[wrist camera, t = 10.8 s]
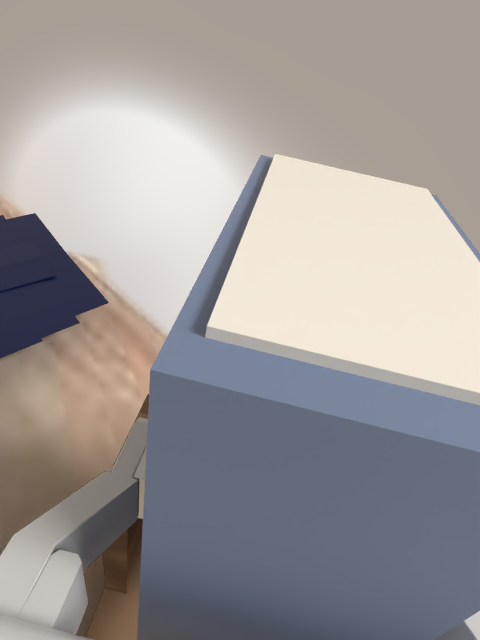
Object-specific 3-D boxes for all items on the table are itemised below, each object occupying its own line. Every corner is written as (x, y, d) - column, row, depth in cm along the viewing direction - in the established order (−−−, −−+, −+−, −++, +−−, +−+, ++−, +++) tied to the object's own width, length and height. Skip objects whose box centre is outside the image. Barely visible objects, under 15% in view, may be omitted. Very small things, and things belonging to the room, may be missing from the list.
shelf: (40, 767, 17) (-16, 729, 10) (140, 505, 27) (147, 393, 20) (283, 835, 17) (396, 844, 10) (296, 546, 26) (358, 448, 20)
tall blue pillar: (133, 702, 12) (151, 357, 3) (197, 476, 19) (262, 148, 10) (271, 739, 12) (677, 488, 3) (287, 499, 19) (439, 189, 10)
